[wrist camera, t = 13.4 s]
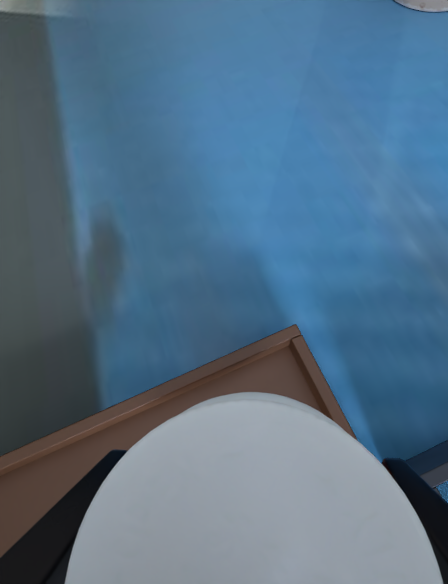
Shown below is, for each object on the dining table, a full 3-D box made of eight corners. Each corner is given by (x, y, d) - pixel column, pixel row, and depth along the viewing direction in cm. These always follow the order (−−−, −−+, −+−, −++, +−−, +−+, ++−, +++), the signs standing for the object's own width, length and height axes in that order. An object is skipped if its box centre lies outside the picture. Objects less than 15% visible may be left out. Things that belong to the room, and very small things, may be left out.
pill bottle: (362, 525, 15) (633, 733, 4) (225, 620, 14) (144, 1157, 4) (275, 385, 17) (314, 295, 6) (152, 461, 16) (-35, 500, 6)
